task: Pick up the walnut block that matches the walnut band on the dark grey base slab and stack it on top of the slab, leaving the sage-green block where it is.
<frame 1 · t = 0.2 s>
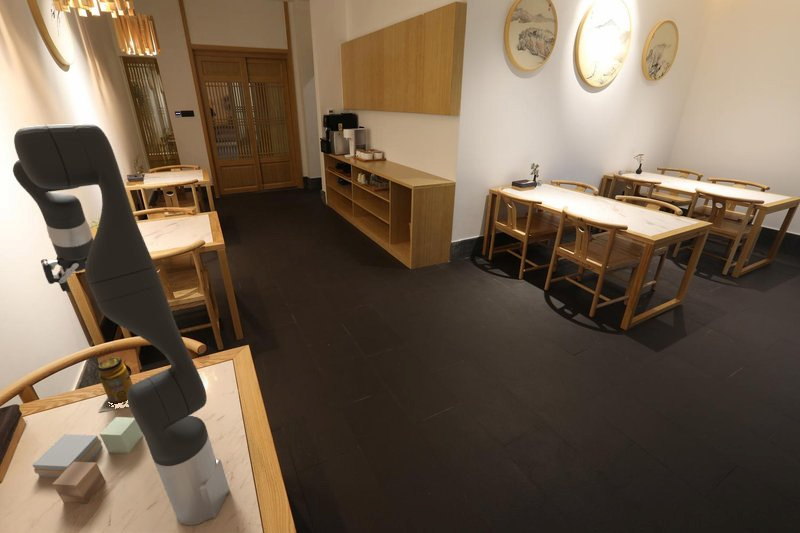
hand: (88, 284, 97), 31 cm above the table, tool tilted 20°, fingers open, 8 cm apart
sage block: (126, 443, 89), on the table
walnut block: (85, 491, 78), on the table
condiment: (121, 399, 102), on the table
slate base: (72, 461, 85), on the table
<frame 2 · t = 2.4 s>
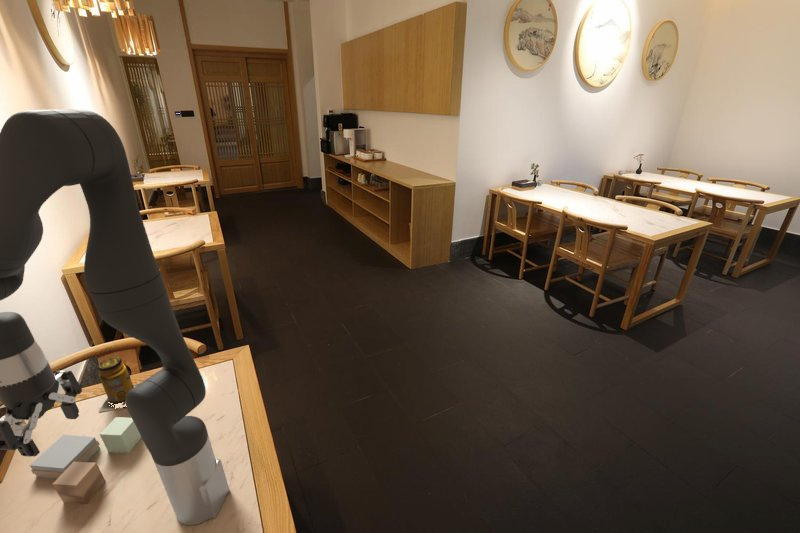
hand: (54, 435, 71), 17 cm above the table, tool pointing down, fingers open, 8 cm apart
nothing on the table moved.
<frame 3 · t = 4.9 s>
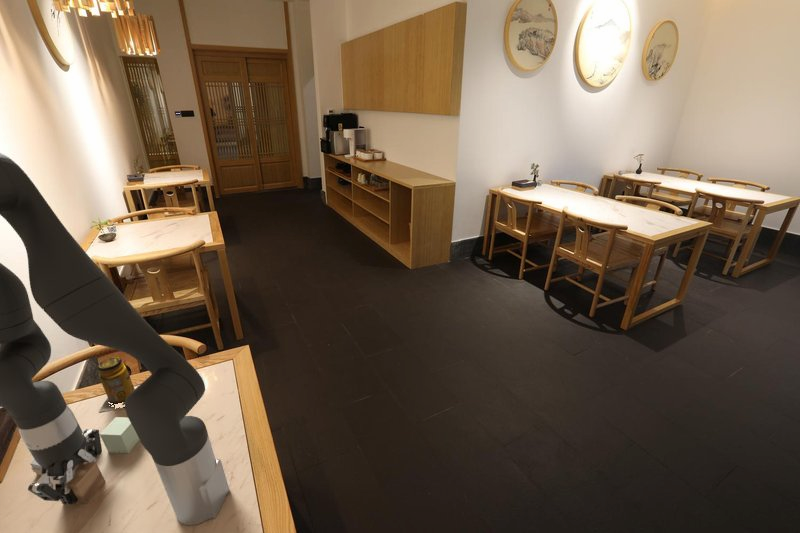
hand: (83, 488, 78), 1 cm above the table, tool pointing down, fingers closed on walnut block, 5 cm apart
walnut block: (84, 491, 78), on the table, touching gripper
everything else where it was.
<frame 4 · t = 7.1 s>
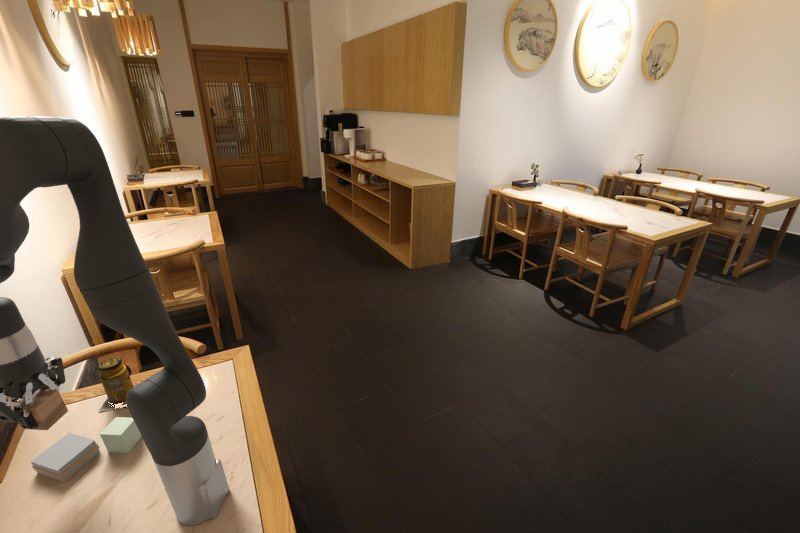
hand: (45, 416, 76), 16 cm above the table, tool pointing down, fingers closed on walnut block, 5 cm apart
walnut block: (46, 419, 76), point 15 cm above the table, touching gripper
everything else where it was.
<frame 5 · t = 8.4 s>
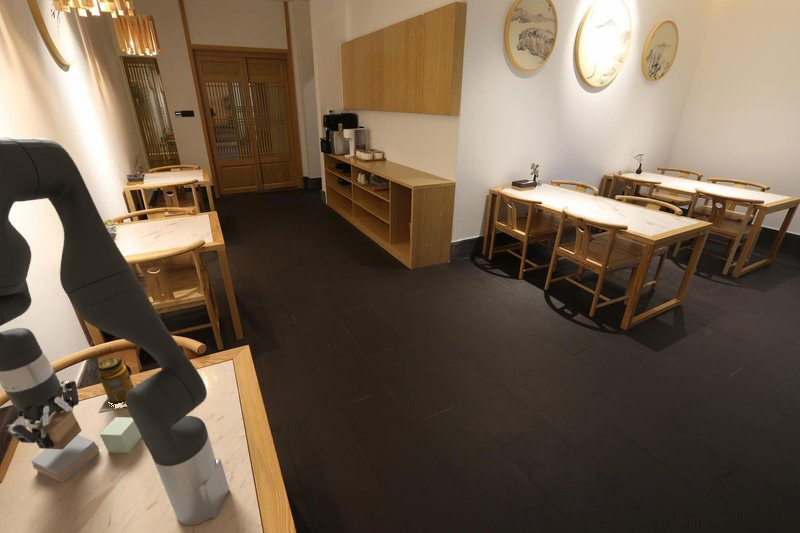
hand: (60, 436, 82), 8 cm above the table, tool pointing down, fingers closed on walnut block, 5 cm apart
walnut block: (61, 439, 82), point 7 cm above the table, touching gripper
when the fingers open (6 cm above the table, at t = 9.5 s): walnut block drops 2 cm, point 4 cm above the table.
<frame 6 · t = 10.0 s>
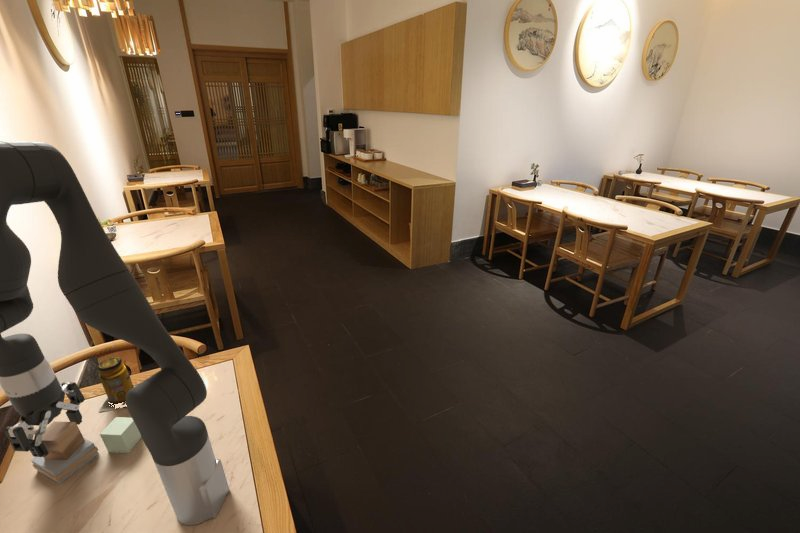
hand: (61, 438, 82), 7 cm above the table, tool pointing down, fingers open, 8 cm apart
walnut block: (65, 449, 83), point 4 cm above the table
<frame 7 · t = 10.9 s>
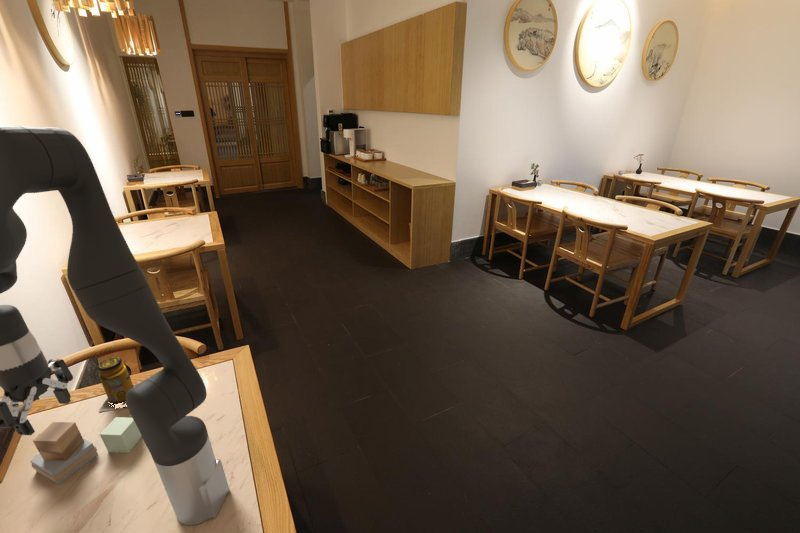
hand: (48, 417, 79), 14 cm above the table, tool pointing down, fingers open, 8 cm apart
nothing on the table moved.
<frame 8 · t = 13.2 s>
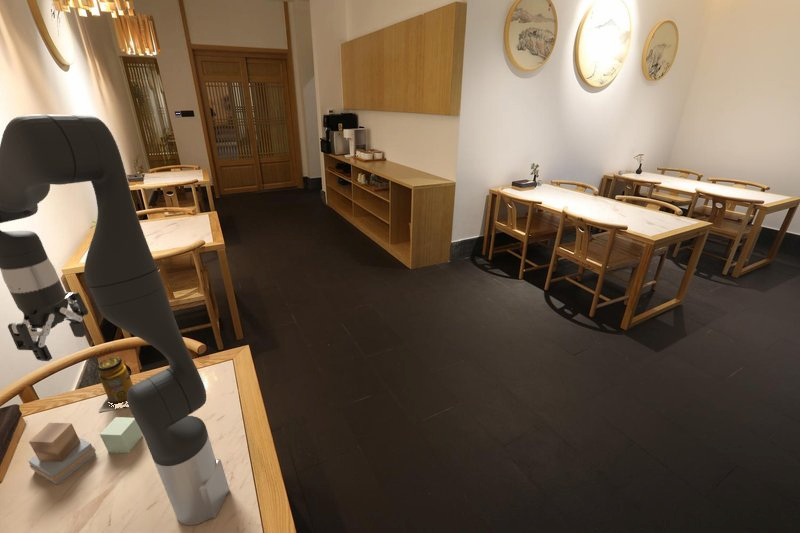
hand: (64, 347, 81), 26 cm above the table, tool pointing down, fingers open, 8 cm apart
walnut block: (60, 451, 83), point 4 cm above the table, touching slate base
slate base: (66, 463, 84), on the table, touching walnut block
everything else where it was.
at the end: walnut block 0.1 cm off-centre on the slate base, point 4.0 cm above the slate base's base; walnut block tilted 0°; walnut block touching slate base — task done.
